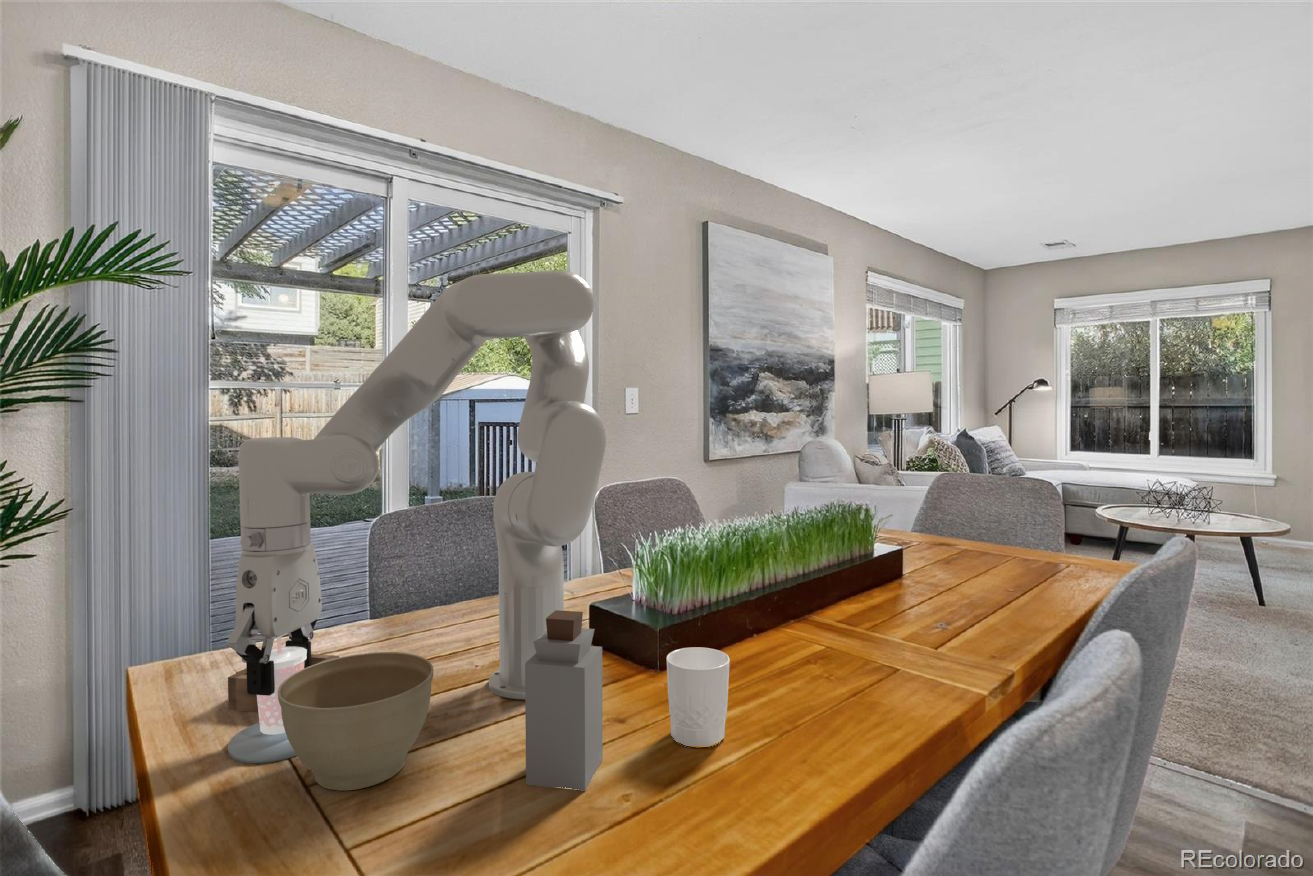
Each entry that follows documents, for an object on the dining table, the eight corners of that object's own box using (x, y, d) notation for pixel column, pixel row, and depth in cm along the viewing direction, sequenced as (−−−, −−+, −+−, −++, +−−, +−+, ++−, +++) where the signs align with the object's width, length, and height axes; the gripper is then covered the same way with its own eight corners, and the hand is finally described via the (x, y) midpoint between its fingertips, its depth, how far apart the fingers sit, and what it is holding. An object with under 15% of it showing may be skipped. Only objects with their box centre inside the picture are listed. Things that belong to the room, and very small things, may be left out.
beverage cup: (261, 718, 89) (258, 609, 89) (314, 713, 91) (311, 605, 90) (245, 740, 83) (242, 623, 83) (302, 734, 85) (299, 619, 84)
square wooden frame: (339, 685, 104) (339, 655, 104) (295, 714, 94) (294, 681, 94) (278, 681, 106) (277, 652, 106) (228, 710, 96) (227, 677, 96)
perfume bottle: (585, 791, 76) (584, 626, 75) (526, 784, 77) (524, 622, 76) (602, 760, 82) (601, 608, 81) (547, 755, 83) (546, 605, 83)
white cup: (711, 757, 83) (711, 674, 82) (654, 741, 87) (654, 661, 87) (739, 731, 90) (740, 654, 89) (686, 717, 94) (686, 643, 93)
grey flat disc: (347, 724, 92) (347, 718, 92) (291, 766, 81) (291, 759, 81) (270, 718, 93) (270, 712, 93) (206, 759, 82) (205, 752, 82)
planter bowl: (316, 739, 87) (314, 653, 87) (448, 735, 89) (447, 650, 88) (250, 814, 71) (248, 708, 71) (413, 807, 72) (411, 704, 72)
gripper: (253, 553, 77) (258, 715, 78) (346, 526, 94) (349, 659, 95) (192, 551, 78) (198, 711, 79) (295, 525, 95) (298, 656, 96)
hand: (280, 681), depth 87 cm, fingers closed on beverage cup, 6 cm apart
